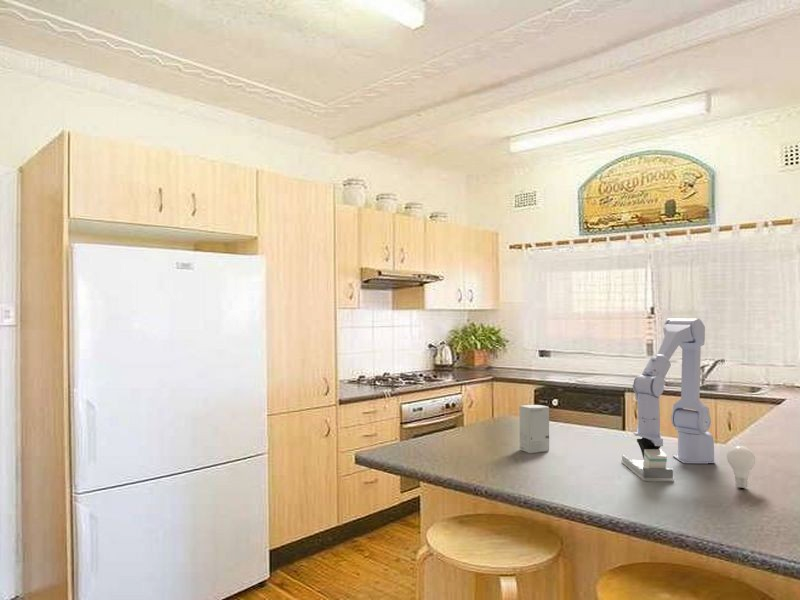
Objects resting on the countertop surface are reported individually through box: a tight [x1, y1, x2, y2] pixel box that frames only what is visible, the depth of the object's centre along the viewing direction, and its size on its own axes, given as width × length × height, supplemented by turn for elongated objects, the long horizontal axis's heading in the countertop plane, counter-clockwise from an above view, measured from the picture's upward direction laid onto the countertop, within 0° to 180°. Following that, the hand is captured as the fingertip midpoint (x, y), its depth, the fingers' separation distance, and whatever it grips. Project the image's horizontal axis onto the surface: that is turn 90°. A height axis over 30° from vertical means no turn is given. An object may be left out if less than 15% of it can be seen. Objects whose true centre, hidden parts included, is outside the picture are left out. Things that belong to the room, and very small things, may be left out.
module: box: [643, 448, 668, 468], centre depth 152 cm, size 5×4×6 cm
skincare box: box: [518, 404, 550, 454], centre depth 182 cm, size 8×6×15 cm
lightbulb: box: [726, 445, 757, 489], centre depth 143 cm, size 6×6×11 cm
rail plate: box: [621, 454, 675, 482], centre depth 158 cm, size 8×18×3 cm, turn 176°
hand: (649, 465), depth 156 cm, fingers closed
